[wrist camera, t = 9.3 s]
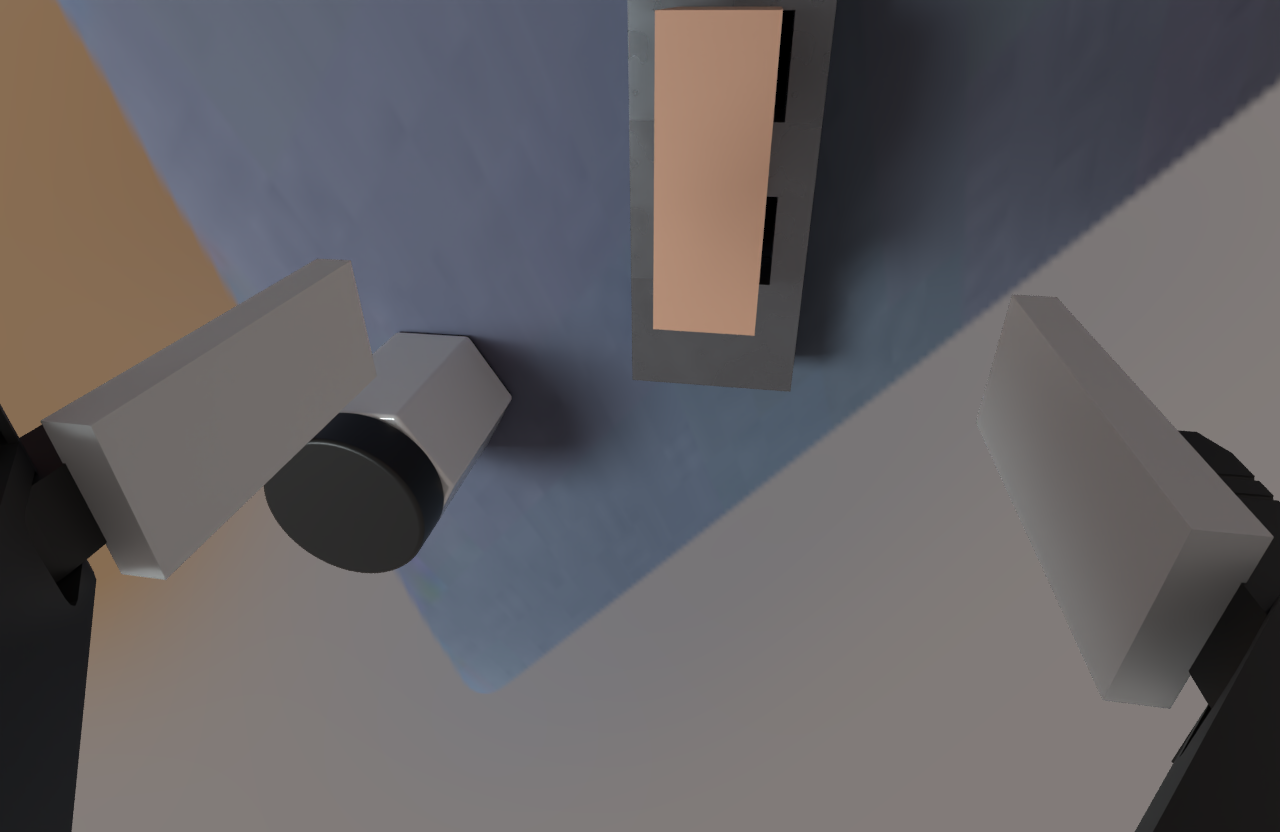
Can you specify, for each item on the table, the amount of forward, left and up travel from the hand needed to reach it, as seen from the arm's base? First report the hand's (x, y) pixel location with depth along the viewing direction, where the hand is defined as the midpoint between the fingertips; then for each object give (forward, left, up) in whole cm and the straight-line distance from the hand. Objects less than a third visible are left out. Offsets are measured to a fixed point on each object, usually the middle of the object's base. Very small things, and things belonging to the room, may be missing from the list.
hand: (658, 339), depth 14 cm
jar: (+15, -17, -23) cm, 32 cm away
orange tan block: (0, 0, -22) cm, 22 cm away
